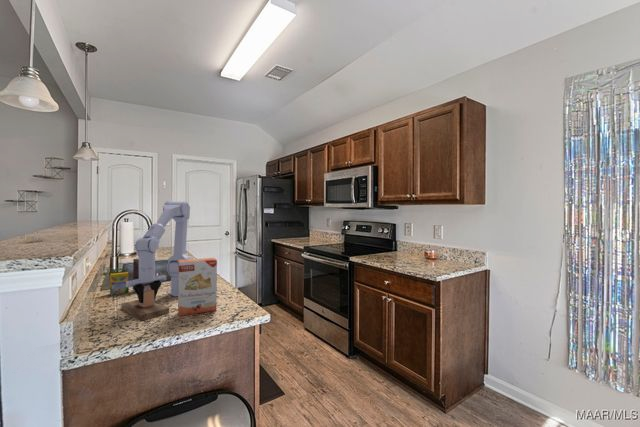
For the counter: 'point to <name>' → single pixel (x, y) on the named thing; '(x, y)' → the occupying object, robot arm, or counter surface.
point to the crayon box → (119, 281)
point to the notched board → (144, 310)
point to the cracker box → (197, 286)
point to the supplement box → (136, 273)
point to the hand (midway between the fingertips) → (147, 301)
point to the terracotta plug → (147, 298)
